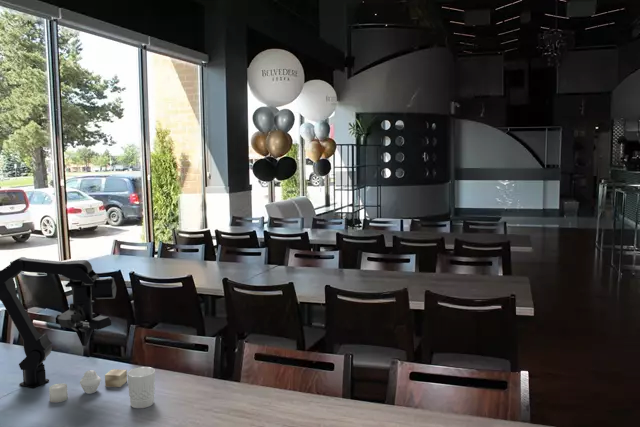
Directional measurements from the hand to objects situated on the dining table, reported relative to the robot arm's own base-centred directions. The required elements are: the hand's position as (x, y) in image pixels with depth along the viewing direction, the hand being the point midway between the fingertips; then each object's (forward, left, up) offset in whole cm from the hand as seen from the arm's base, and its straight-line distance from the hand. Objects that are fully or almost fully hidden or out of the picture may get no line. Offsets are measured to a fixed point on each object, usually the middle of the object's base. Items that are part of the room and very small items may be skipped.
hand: (84, 345), depth 187 cm
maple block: (+11, +2, -12) cm, 17 cm away
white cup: (+29, -7, -12) cm, 32 cm away
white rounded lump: (+3, -14, -12) cm, 19 cm away
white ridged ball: (+8, -6, -12) cm, 16 cm away
